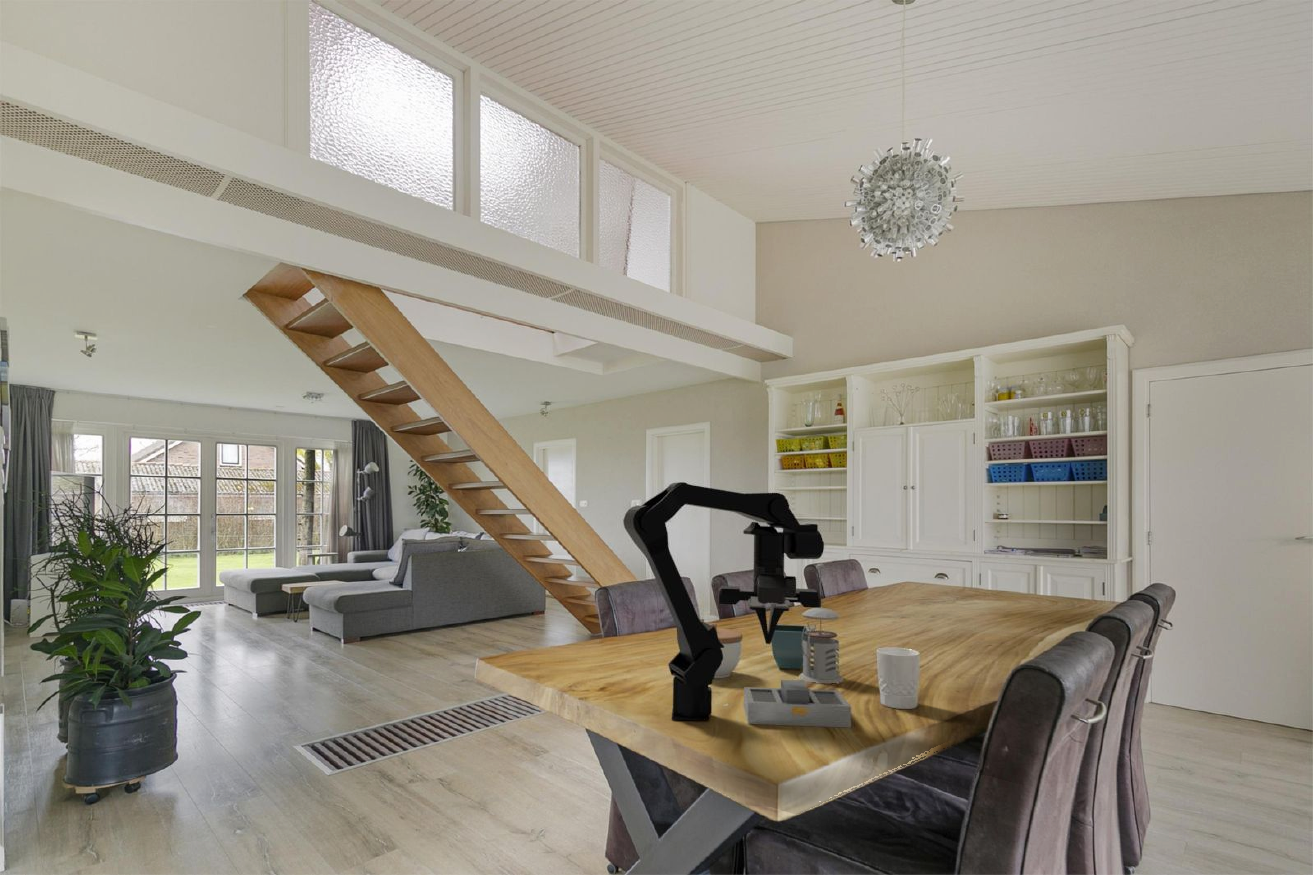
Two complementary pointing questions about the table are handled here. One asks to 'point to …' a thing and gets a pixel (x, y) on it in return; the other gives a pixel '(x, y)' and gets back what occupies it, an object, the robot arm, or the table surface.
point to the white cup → (898, 677)
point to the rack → (796, 708)
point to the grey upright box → (794, 691)
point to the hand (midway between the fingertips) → (768, 643)
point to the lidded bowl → (728, 650)
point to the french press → (820, 648)
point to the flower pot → (788, 646)
